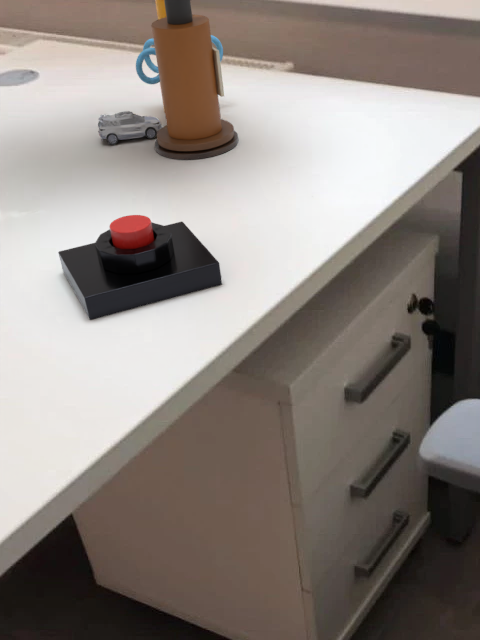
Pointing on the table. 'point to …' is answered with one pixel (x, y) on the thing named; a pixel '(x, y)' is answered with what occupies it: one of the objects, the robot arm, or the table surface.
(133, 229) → the button
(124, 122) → the toy car
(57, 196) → the table surface
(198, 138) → the labeled post on disc
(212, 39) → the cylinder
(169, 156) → the turntable base
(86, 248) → the button block
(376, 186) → the table surface
